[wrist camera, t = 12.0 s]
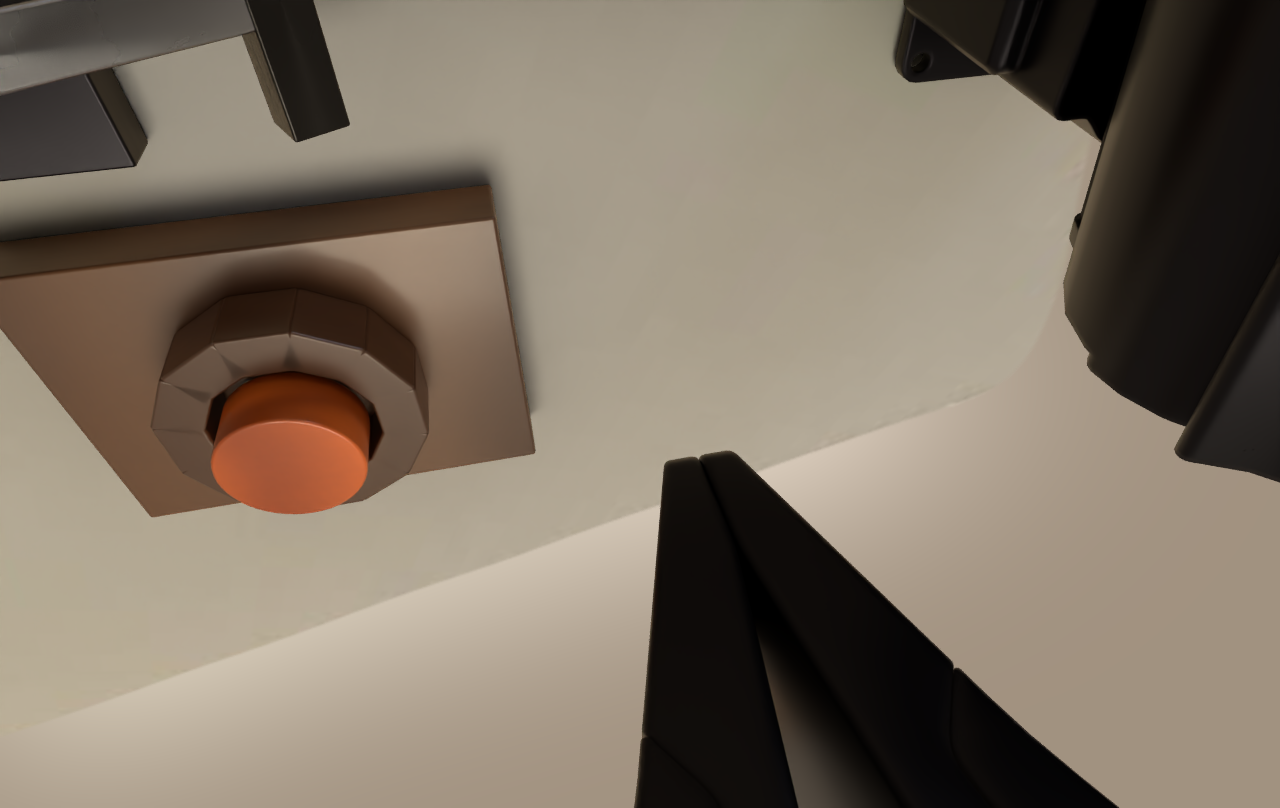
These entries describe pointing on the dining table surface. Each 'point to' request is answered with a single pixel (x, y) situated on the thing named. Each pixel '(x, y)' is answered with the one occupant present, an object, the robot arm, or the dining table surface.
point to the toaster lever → (178, 47)
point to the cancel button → (292, 443)
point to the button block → (277, 332)
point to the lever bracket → (68, 128)
